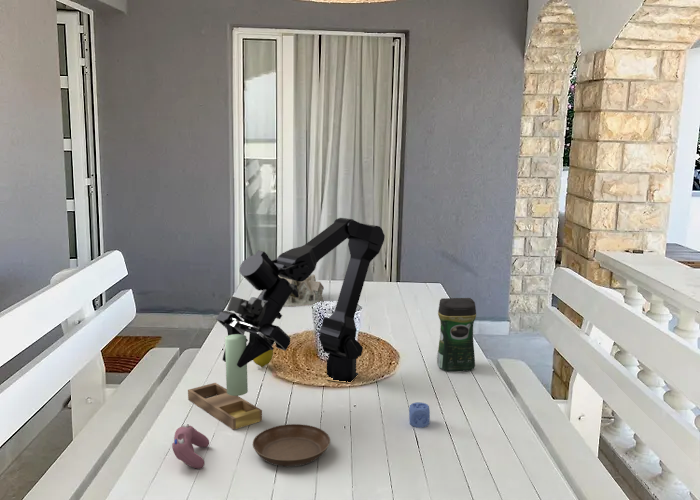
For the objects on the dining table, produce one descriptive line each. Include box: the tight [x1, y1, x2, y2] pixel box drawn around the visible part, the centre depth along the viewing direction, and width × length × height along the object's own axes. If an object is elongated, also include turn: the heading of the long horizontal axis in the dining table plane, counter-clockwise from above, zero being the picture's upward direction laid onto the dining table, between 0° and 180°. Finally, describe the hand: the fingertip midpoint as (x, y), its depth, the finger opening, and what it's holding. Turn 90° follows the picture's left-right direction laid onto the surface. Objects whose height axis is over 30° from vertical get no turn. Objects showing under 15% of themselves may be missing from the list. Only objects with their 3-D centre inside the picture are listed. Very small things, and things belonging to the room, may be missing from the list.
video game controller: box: [171, 424, 210, 470], centre depth 129 cm, size 10×5×7 cm, turn 6°
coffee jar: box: [436, 297, 477, 373], centre depth 176 cm, size 10×8×19 cm
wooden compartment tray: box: [187, 382, 263, 431], centre depth 151 cm, size 20×7×2 cm, turn 40°
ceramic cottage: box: [278, 274, 325, 308], centre depth 241 cm, size 16×16×15 cm
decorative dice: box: [408, 402, 431, 429], centre depth 145 cm, size 4×4×4 cm
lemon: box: [252, 349, 274, 368], centre depth 177 cm, size 6×6×8 cm
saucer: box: [252, 423, 331, 468], centre depth 132 cm, size 15×15×3 cm
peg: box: [224, 334, 249, 397], centre depth 144 cm, size 4×4×12 cm
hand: (231, 363), depth 143 cm, fingers closed on peg, 4 cm apart
